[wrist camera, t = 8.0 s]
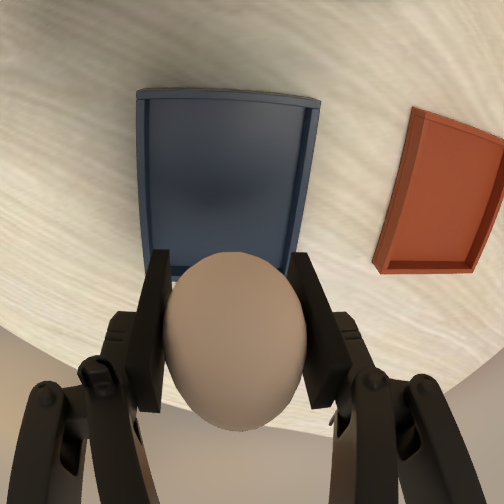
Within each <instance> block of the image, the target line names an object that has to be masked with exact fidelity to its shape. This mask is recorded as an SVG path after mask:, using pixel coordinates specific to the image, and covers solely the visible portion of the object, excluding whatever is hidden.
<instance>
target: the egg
mask: <svg viewBox="0 0 504 504" xmlns="http://www.w3.org/2000/svg"><path fill="white" fill-rule="evenodd" d="M162 343H163V350H164V358H165V362H166V364H167V367H168V369H169V372H170V374H171V377H172V379H173V381H174V384H175V386H176V388H177V390H178V391H179V393H180V394H181V396H182V397H183V399H184V400H185V401H186V403H187V404H188V406H189V407H190V408H191V409H192V411H194V412H195V413H196V414H197V415H199V416H200V417H201V418H202V419H204V420H205V421H207V422H208V423H210V424H212V425H214V426H217V427H218V428H221V429H225V430H230V431H242V432H243V431H248V430H252V429H257V428H259V427H262V426H263V425H265V424H267V423H268V422H270V421H271V420H273V419H274V418H275V417H276V416H278V415H279V414H280V413H281V412H282V411H283V410H284V409H285V408H286V406H287V405H288V404H289V403H290V401H291V399H292V397H293V395H294V393H295V391H296V389H297V387H298V385H299V382H300V380H301V376H302V372H303V367H304V363H305V359H306V355H307V330H306V322H305V318H304V314H303V310H302V307H301V303H300V301H299V299H298V297H297V295H296V293H295V291H294V290H293V288H292V286H291V285H290V283H289V281H288V280H287V279H286V277H285V276H284V275H283V274H282V273H280V272H279V271H278V270H277V269H276V268H275V267H273V266H272V265H271V264H270V263H269V262H267V261H265V260H263V259H261V258H259V257H256V256H253V255H249V254H246V253H243V252H222V253H216V254H214V255H211V256H209V257H206V258H204V259H202V260H201V261H199V262H198V263H196V264H195V265H193V266H192V267H190V268H189V269H188V270H187V271H186V272H185V273H184V274H183V275H182V276H181V277H180V278H179V280H178V281H177V283H176V285H175V287H174V288H173V290H172V292H171V294H170V296H169V298H168V301H167V304H166V308H165V312H164V316H163V335H162Z"/></svg>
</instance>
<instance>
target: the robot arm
mask: <svg viewBox="0 0 504 504" xmlns="http://www.w3.org/2000/svg"><path fill="white" fill-rule="evenodd" d="M286 279H287V280H288V281H289V283H290V285H291V286H292V288H293V290H294V291H295V293H296V295H297V297H298V299H299V301H300V303H301V307H302V310H303V314H304V318H305V322H306V330H307V355H306V359H305V363H304V367H303V372H302V373H303V377H304V381H305V385H306V389H307V393H308V397H309V401H310V405H311V409H320V408H328V407H331V405H332V404H333V402H334V400H335V402H336V405H337V410H336V411H335V413H334V415H333V417H332V418H331V420H330V422H329V426H332V424H333V422H334V434H333V453H332V469H331V482H330V494H329V504H398V477H399V481H400V484H401V488H402V492H403V495H404V499H405V502H406V504H487V503H486V500H485V497H484V494H483V491H482V488H481V485H480V483H479V480H478V477H477V474H476V471H475V469H474V466H473V463H472V461H471V458H470V455H469V453H468V450H467V448H466V445H465V443H464V440H463V438H462V436H461V434H460V431H459V428H458V426H457V424H456V421H455V419H454V417H453V415H452V412H451V410H450V408H449V406H448V403H447V401H446V399H445V397H444V395H443V393H442V391H441V388H440V386H439V384H438V383H437V381H436V380H435V379H434V378H432V377H431V376H429V375H426V374H417V375H415V376H414V377H413V378H412V379H411V380H410V381H402V380H395V379H390V378H389V377H388V376H387V375H386V373H385V372H384V371H382V370H380V369H379V368H376V367H375V365H374V363H373V361H372V358H371V356H370V354H369V352H368V349H367V347H366V345H365V343H364V340H363V339H362V336H361V334H360V332H359V331H358V327H357V325H356V323H355V321H354V319H353V318H352V317H351V316H350V315H349V314H348V313H347V312H332V310H331V308H330V305H329V303H328V301H327V298H326V296H325V293H324V291H323V289H322V286H321V284H320V282H319V279H318V277H317V275H316V272H315V270H314V268H313V265H312V263H311V261H310V258H309V256H308V254H307V253H305V252H291V256H290V262H289V267H288V272H287V278H286ZM171 292H172V280H171V265H170V249H153V251H152V255H151V258H150V262H149V265H148V269H147V273H146V276H145V280H144V284H143V288H142V292H141V296H140V300H139V304H138V308H137V312H125V311H118V312H117V313H116V314H115V315H114V316H113V317H112V319H111V320H110V322H109V326H108V329H107V332H106V336H105V341H104V343H103V346H102V350H101V353H100V355H95V356H92V357H88V358H87V359H86V360H84V361H83V362H82V363H81V365H80V366H79V367H78V372H77V375H78V377H79V378H80V381H81V383H82V385H78V386H73V387H67V388H61V387H60V386H59V385H58V384H57V383H55V382H52V381H43V382H40V383H38V384H37V385H36V386H35V387H33V389H32V391H31V393H30V395H29V398H28V402H27V405H26V409H25V412H24V416H23V420H22V424H21V428H20V432H19V437H18V441H17V446H16V450H15V455H14V460H13V465H12V470H11V476H10V482H9V489H8V496H7V504H81V494H82V482H83V471H84V461H85V452H86V444H87V439H90V446H91V453H92V459H93V465H94V471H95V477H96V482H97V488H98V492H99V497H100V502H101V504H160V502H159V499H158V496H157V493H156V489H155V486H154V483H153V479H152V475H151V472H150V468H149V465H148V461H147V457H146V454H145V449H144V445H143V441H142V436H141V433H140V428H139V423H138V420H137V418H136V413H137V406H138V408H139V411H140V412H152V413H160V410H161V397H162V385H163V374H164V364H165V358H164V350H163V343H162V335H163V316H164V312H165V308H166V304H167V301H168V298H169V296H170V294H171Z"/></svg>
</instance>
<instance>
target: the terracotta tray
mask: <svg viewBox="0 0 504 504" xmlns="http://www.w3.org/2000/svg"><path fill="white" fill-rule="evenodd" d="M503 197H504V140H503V139H501V138H498V137H496V136H494V135H491V134H489V133H486V132H484V131H482V130H479V129H476V128H474V127H471V126H469V125H466V124H463V123H461V122H458V121H455V120H452V119H449V118H446V117H443V116H440V115H437V114H434V113H431V112H428V111H425V110H421V109H418V108H415V107H412V112H411V117H410V123H409V127H408V132H407V137H406V141H405V146H404V150H403V155H402V159H401V163H400V167H399V171H398V175H397V179H396V183H395V187H394V191H393V194H392V198H391V202H390V205H389V209H388V212H387V216H386V219H385V222H384V226H383V229H382V232H381V236H380V239H379V242H378V245H377V248H376V251H375V254H374V257H373V260H372V263H373V264H374V265H375V267H376V268H377V270H378V272H379V273H380V274H455V273H473V271H474V269H475V267H476V265H477V263H478V260H479V258H480V256H481V254H482V251H483V249H484V247H485V245H486V242H487V240H488V237H489V235H490V232H491V230H492V227H493V225H494V222H495V220H496V217H497V214H498V212H499V209H500V206H501V203H502V200H503Z"/></svg>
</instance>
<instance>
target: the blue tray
mask: <svg viewBox="0 0 504 504" xmlns="http://www.w3.org/2000/svg"><path fill="white" fill-rule="evenodd" d="M136 99H137V100H136V153H137V180H138V199H139V214H140V227H141V238H142V248H143V258H144V267H145V274H146V273H147V269H148V265H149V262H150V258H151V255H152V251H153V249H170V265H171V280H172V281H174V282H177V281H178V280H179V278H180V277H181V276H182V275H183V274H184V273H185V272H186V271H187V270H188V269H189V268H190V267H192V266H193V265H195V264H196V263H198V262H199V261H201V260H202V259H204V258H206V257H209V256H211V255H214V254H216V253H222V252H243V253H246V254H249V255H253V256H256V257H259V258H261V259H263V260H265V261H267V262H269V263H270V264H271V265H272V266H273V267H275V268H276V269H277V270H278V271H279V272H280V273H282V274H283V275H284V276H285V277H286V278H287V272H288V267H289V262H290V256H291V252H296V248H297V243H298V238H299V232H300V227H301V222H302V216H303V211H304V205H305V199H306V194H307V188H308V182H309V176H310V170H311V164H312V158H313V152H314V146H315V140H316V133H317V127H318V120H319V113H320V106H321V101H319V100H317V99H314V98H310V97H303V96H296V95H288V94H279V93H270V92H259V91H247V90H232V89H212V88H146V89H141V90H138V91H137V92H136ZM145 276H146V275H145Z"/></svg>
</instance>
